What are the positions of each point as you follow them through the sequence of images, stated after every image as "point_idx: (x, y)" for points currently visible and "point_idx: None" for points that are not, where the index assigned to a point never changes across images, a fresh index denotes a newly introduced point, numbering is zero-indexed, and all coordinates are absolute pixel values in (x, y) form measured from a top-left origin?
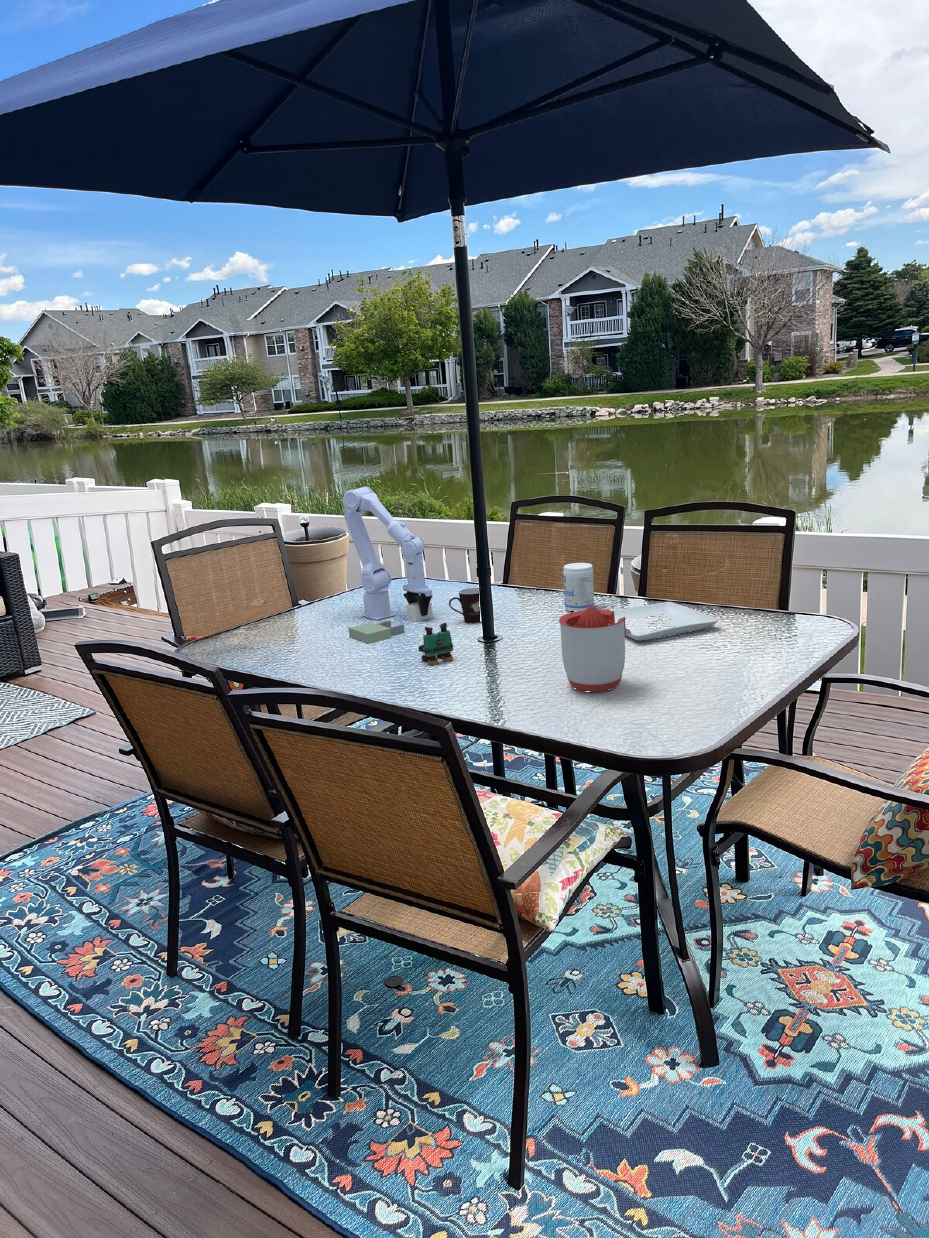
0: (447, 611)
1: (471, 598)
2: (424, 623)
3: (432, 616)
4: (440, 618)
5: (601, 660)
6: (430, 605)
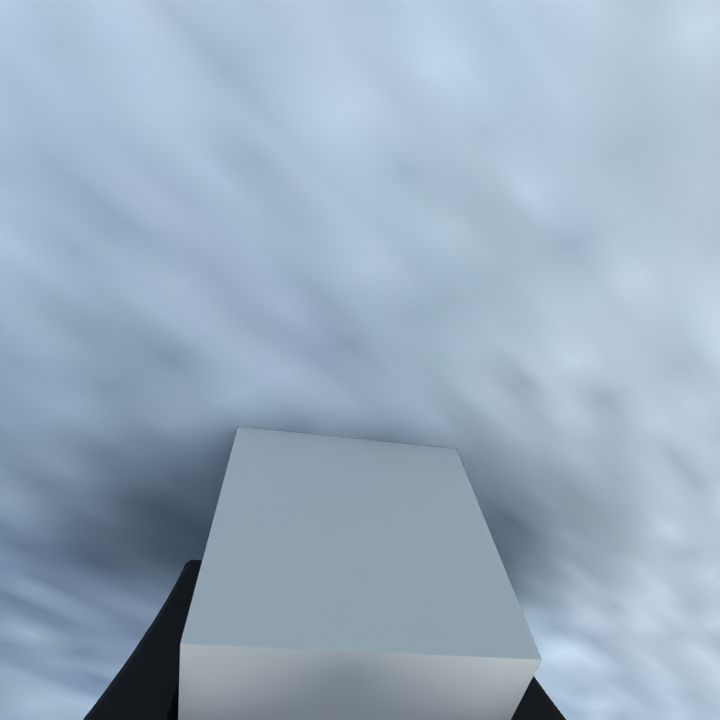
0: (452, 55)
1: None
2: (536, 636)
3: (458, 462)
4: (604, 443)
5: None
6: (511, 631)
